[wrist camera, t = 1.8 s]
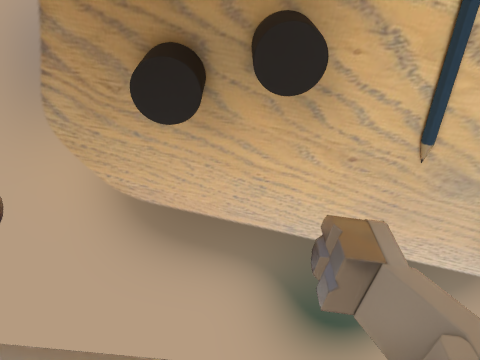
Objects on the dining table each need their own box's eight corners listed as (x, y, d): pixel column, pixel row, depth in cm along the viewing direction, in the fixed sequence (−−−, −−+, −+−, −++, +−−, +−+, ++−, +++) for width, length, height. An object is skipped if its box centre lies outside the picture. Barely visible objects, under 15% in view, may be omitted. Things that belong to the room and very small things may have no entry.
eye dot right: (239, 58, 23) (239, 73, 20) (275, -5, 21) (280, 4, 18) (293, 90, 24) (299, 108, 21) (332, 34, 22) (344, 47, 19)
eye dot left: (131, 86, 24) (119, 104, 21) (157, 28, 22) (146, 41, 19) (188, 115, 25) (182, 136, 22) (217, 64, 23) (214, 80, 20)
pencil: (507, -99, 19) (425, 160, 27) (487, -99, 19) (412, 159, 27) (518, -100, 18) (430, 166, 26) (497, -100, 18) (416, 166, 26)
